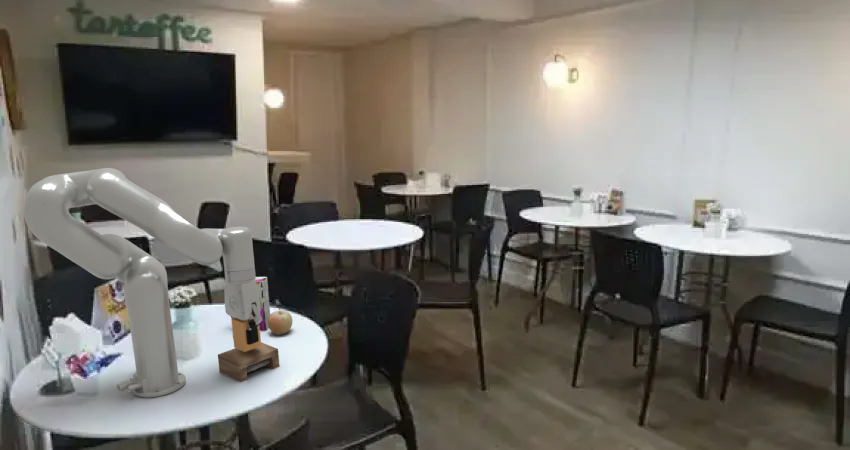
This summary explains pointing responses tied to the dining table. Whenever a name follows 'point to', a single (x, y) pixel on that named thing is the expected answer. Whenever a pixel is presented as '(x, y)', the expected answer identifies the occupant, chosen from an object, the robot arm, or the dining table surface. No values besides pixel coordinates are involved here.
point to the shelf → (247, 361)
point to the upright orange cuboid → (243, 335)
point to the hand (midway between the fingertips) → (246, 339)
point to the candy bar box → (263, 301)
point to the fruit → (280, 322)
